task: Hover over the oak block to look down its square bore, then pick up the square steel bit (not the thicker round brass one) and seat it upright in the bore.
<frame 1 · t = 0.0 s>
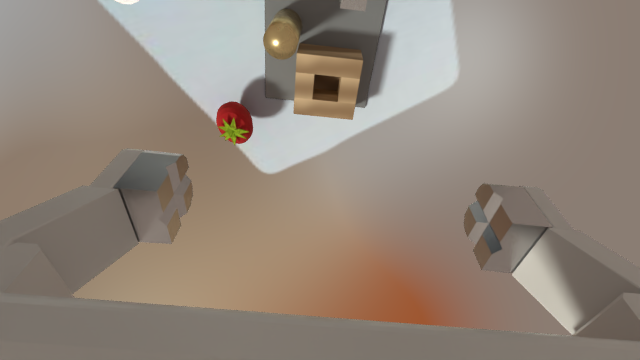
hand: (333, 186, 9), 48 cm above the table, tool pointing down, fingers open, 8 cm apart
socket block: (326, 76, 56), resting on mat
strawberry: (241, 108, 61), on the table
mat: (321, 38, 52), on the table
round bit: (287, 25, 51), resting on mat
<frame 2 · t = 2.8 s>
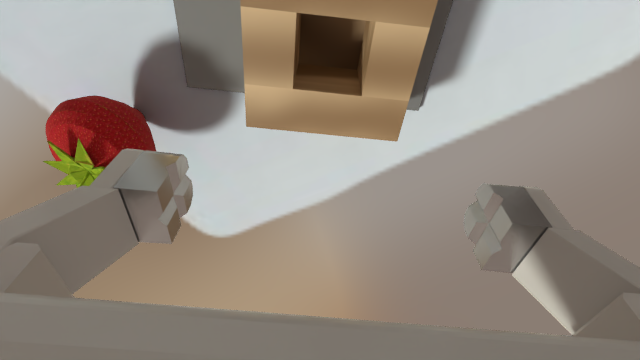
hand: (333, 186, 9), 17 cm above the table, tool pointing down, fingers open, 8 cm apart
socket block: (331, 33, 22), resting on mat
strawberry: (141, 112, 27), on the table
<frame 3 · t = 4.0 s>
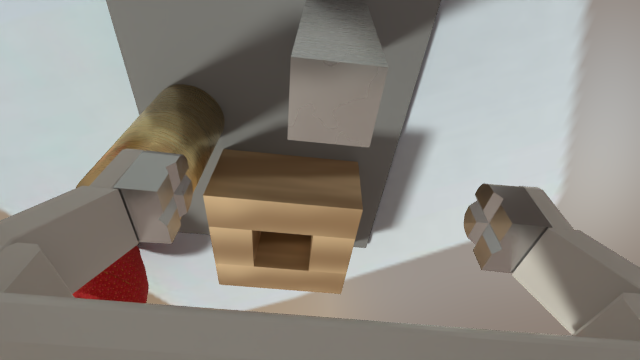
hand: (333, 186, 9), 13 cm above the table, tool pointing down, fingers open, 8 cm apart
socket block: (288, 203, 27), resting on mat
strawberry: (135, 242, 32), on the table
mat: (271, 139, 24), on the table
square bit: (333, 30, 19), resting on mat
round bit: (190, 116, 22), resting on mat
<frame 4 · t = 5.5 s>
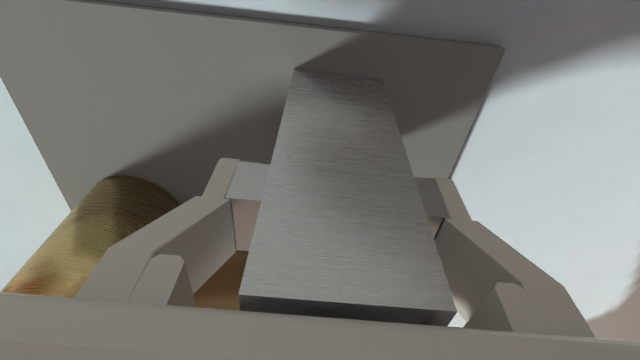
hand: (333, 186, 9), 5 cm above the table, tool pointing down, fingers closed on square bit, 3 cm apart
socket block: (276, 302, 21), resting on mat
mat: (251, 234, 18), on the table
square bit: (333, 113, 13), resting on mat, touching gripper
round bit: (139, 211, 16), resting on mat
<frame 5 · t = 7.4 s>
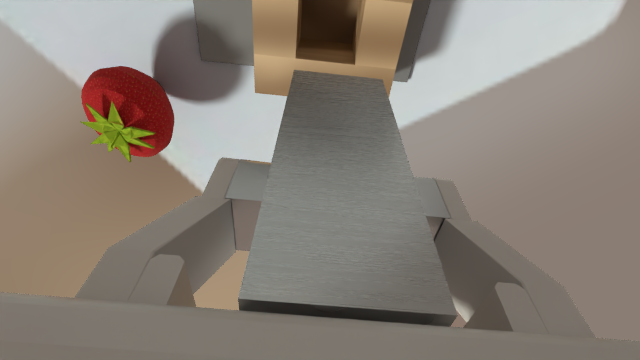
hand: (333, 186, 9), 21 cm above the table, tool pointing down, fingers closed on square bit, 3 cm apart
socket block: (329, 10, 25), resting on mat
strawberry: (158, 84, 30), on the table
square bit: (333, 114, 13), point 17 cm above the table, touching gripper
when the fingers open (6 cm above the table, at t = 9.7 s): square bit stays where it is, resting on socket block.
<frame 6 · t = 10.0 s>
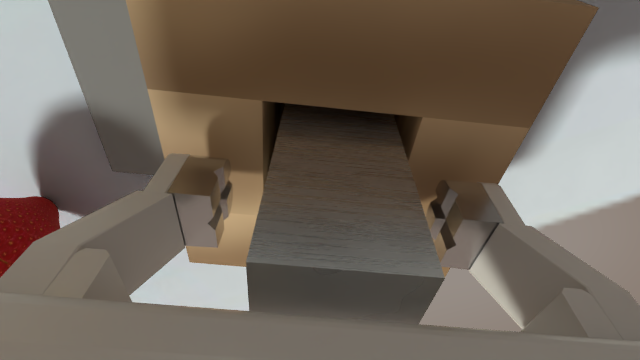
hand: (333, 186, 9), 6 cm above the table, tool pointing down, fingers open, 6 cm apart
socket block: (332, 100, 14), resting on mat
strawberry: (53, 198, 19), on the table
square bit: (332, 107, 13), point 1 cm above the table, touching socket block
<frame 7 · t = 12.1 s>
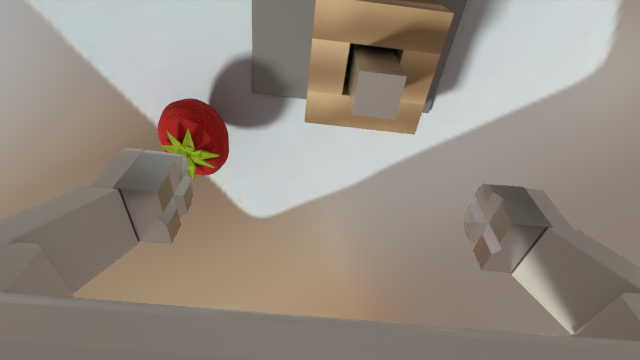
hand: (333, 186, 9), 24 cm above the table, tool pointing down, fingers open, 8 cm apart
socket block: (366, 54, 30), resting on mat
strawberry: (212, 112, 35), on the table
square bit: (366, 57, 30), point 1 cm above the table, touching socket block
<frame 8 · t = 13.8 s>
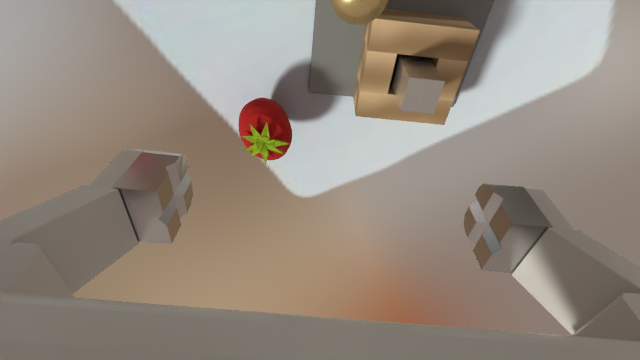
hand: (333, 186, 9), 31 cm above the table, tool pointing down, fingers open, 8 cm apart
socket block: (403, 60, 37), resting on mat
strawberry: (272, 108, 42), on the table
square bit: (404, 62, 37), point 1 cm above the table, touching socket block
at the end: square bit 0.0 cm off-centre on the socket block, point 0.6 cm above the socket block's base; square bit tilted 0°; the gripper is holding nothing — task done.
